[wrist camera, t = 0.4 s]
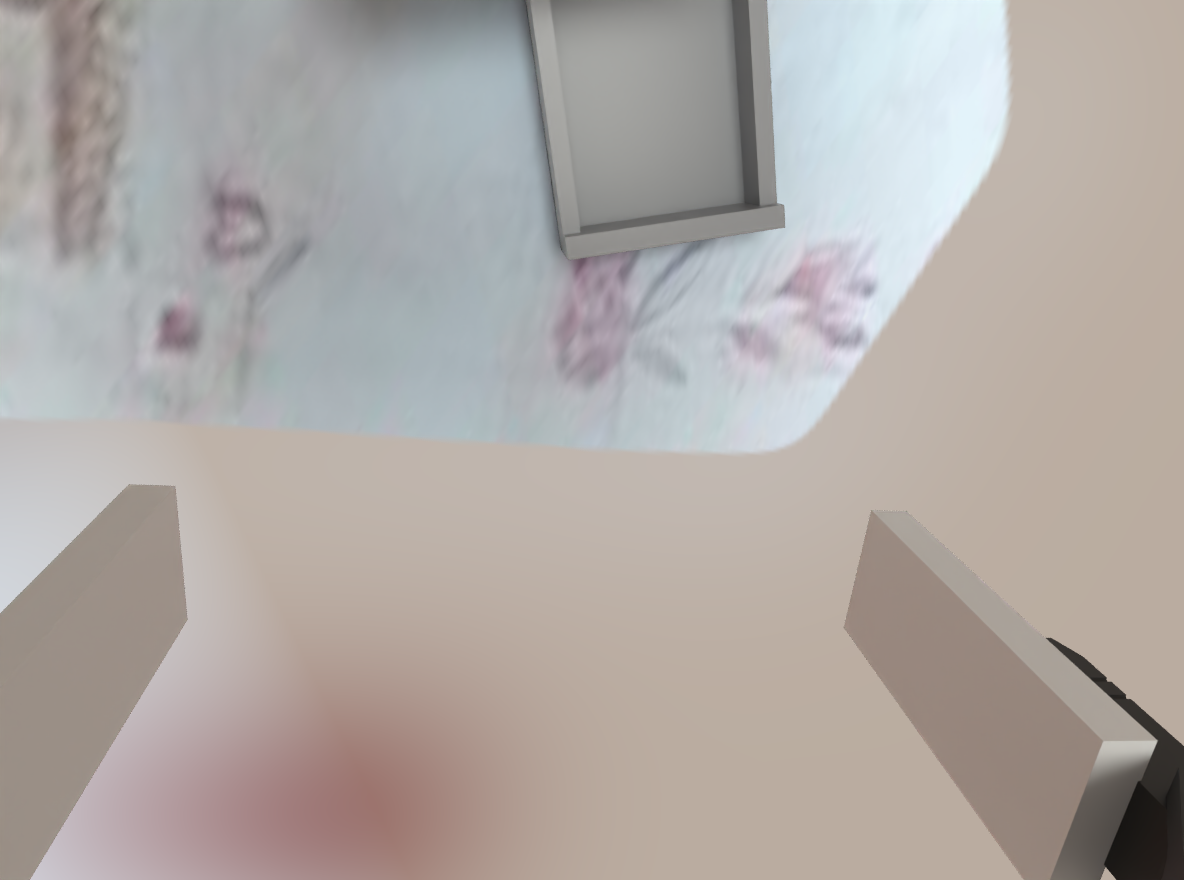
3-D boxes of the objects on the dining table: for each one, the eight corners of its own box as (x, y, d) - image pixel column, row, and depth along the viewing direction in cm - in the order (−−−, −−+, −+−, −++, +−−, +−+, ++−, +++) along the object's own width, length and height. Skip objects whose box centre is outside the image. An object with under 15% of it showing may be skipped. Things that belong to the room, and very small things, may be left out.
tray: (518, -52, 36) (521, -74, 32) (741, -79, 36) (769, -105, 33) (561, 249, 40) (568, 260, 37) (758, 219, 41) (785, 227, 37)
